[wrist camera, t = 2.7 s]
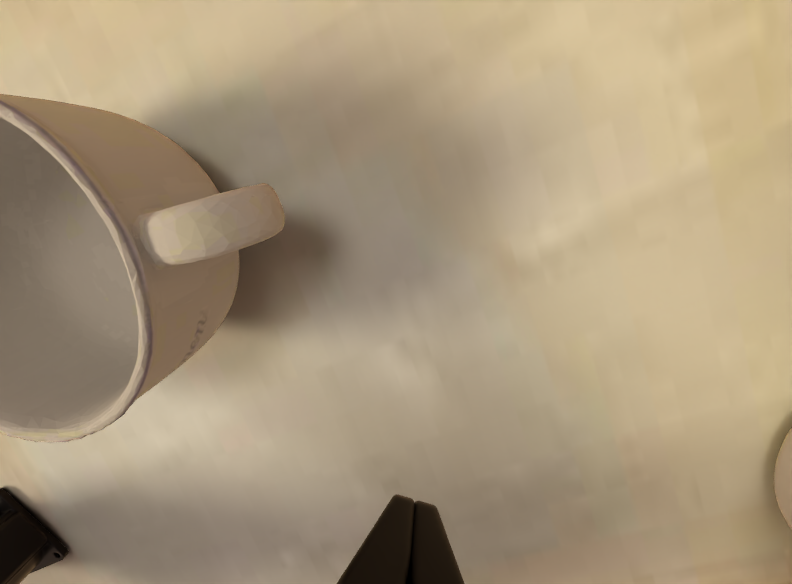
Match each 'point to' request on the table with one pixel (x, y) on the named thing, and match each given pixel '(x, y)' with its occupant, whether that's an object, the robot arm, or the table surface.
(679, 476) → the table surface
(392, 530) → the robot arm
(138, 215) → the teacup
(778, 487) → the cylinder vase
